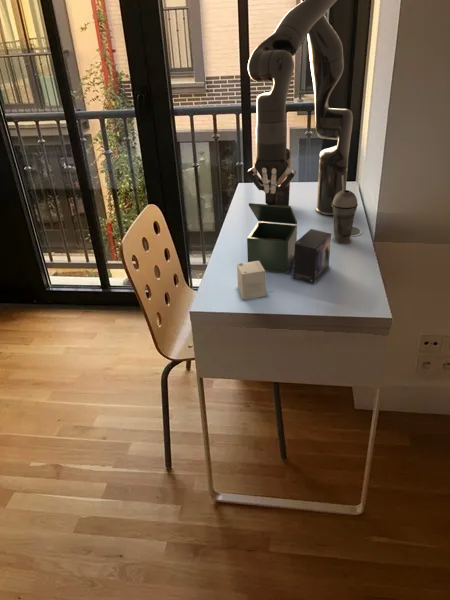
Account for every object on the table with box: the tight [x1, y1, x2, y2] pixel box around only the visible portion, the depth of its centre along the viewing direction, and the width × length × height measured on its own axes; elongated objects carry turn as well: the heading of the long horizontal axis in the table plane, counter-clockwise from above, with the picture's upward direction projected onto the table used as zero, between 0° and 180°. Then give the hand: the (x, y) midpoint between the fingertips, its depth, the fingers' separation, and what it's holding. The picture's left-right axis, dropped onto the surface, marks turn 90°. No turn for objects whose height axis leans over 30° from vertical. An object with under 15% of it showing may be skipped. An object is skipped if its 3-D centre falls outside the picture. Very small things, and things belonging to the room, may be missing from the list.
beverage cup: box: [332, 176, 359, 245], centre depth 148 cm, size 7×7×20 cm
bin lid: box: [248, 202, 298, 225], centre depth 138 cm, size 12×11×1 cm
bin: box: [246, 221, 298, 274], centre depth 142 cm, size 12×11×9 cm
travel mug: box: [275, 147, 291, 206], centre depth 173 cm, size 8×8×20 cm
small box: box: [292, 228, 332, 284], centre depth 134 cm, size 11×6×10 cm, turn 148°
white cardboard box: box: [236, 261, 267, 301], centre depth 128 cm, size 6×6×7 cm
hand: (271, 205), depth 134 cm, fingers closed
